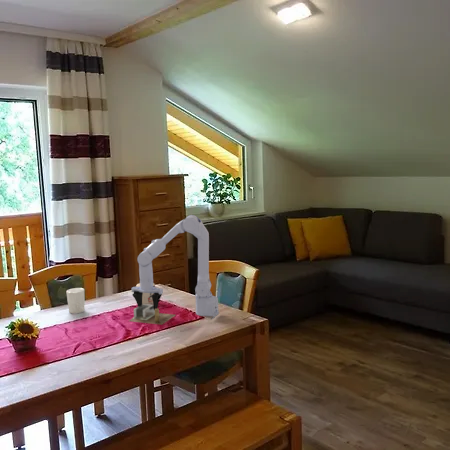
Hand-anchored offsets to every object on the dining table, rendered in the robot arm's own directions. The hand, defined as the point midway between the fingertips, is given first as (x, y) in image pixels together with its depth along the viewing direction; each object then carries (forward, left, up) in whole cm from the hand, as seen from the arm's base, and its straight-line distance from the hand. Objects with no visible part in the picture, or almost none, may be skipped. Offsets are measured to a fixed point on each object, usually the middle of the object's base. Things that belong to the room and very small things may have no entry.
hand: (148, 308), depth 217 cm
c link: (0, +3, -2) cm, 4 cm away
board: (-4, +4, -3) cm, 7 cm away
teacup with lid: (+11, -18, -3) cm, 21 cm away
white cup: (+36, +3, -4) cm, 36 cm away
